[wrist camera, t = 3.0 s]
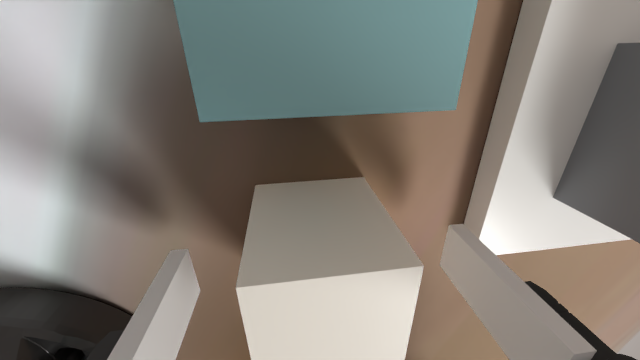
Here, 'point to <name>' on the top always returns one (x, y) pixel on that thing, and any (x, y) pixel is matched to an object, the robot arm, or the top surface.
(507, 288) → the robot arm
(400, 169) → the top surface
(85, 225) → the top surface
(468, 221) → the tower base
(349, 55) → the teal block
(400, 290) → the cream block
